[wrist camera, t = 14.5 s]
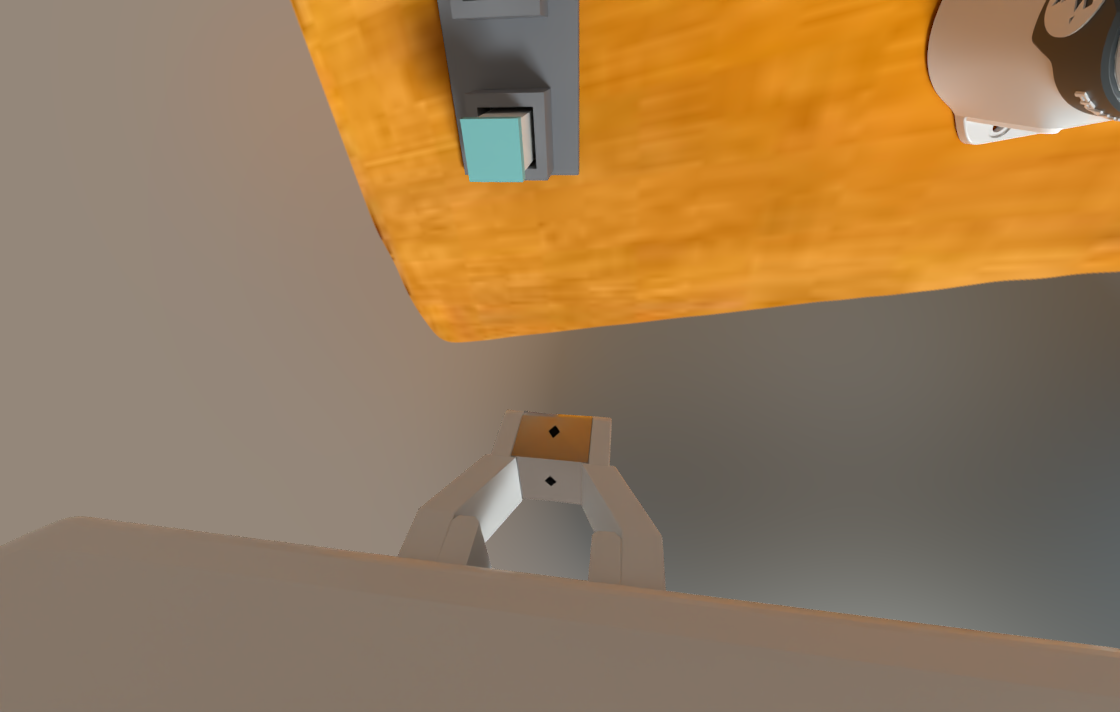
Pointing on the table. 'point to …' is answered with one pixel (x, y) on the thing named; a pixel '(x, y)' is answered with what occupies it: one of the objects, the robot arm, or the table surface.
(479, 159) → the teal key
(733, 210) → the table surface
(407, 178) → the table surface
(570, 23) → the console
